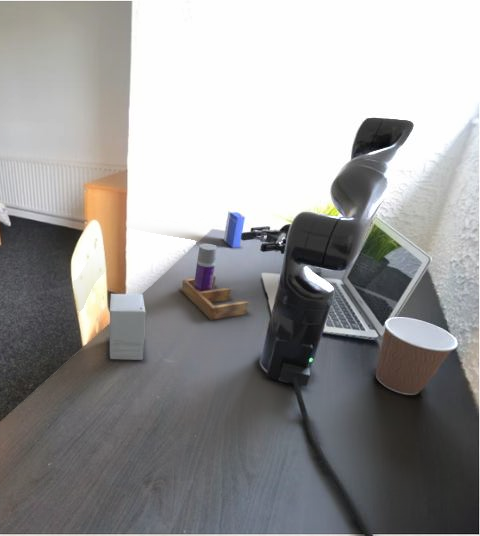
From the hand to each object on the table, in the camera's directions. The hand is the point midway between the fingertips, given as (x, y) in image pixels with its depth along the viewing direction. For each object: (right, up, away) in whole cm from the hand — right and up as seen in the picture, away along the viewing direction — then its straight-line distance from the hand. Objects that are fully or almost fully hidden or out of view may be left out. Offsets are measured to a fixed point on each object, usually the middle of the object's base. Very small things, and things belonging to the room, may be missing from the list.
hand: (251, 242), depth 102 cm
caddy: (-11, -16, 0) cm, 20 cm away
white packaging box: (-37, -26, -18) cm, 48 cm away
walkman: (+10, +2, +37) cm, 39 cm away
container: (-13, -15, +3) cm, 20 cm away
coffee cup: (+16, -30, -29) cm, 44 cm away
